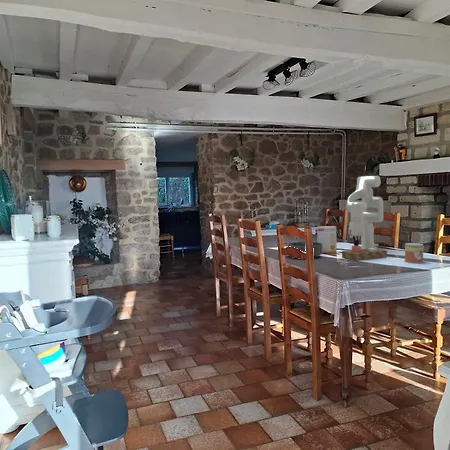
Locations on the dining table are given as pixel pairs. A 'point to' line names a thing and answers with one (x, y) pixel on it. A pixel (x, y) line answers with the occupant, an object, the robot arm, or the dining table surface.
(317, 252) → the bundt pan
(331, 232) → the cracker box
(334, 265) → the dining table surface
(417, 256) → the canned food
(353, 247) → the salmon pink cube
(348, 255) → the block
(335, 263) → the dining table surface
